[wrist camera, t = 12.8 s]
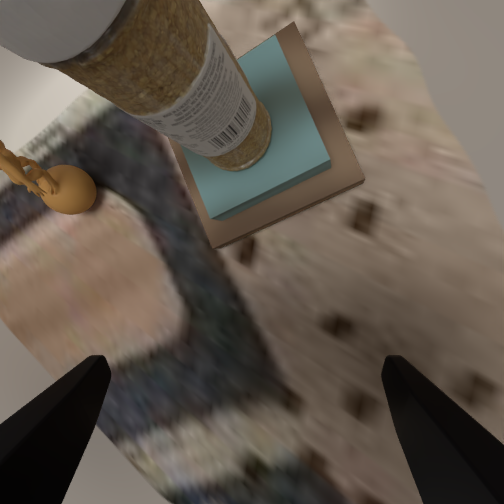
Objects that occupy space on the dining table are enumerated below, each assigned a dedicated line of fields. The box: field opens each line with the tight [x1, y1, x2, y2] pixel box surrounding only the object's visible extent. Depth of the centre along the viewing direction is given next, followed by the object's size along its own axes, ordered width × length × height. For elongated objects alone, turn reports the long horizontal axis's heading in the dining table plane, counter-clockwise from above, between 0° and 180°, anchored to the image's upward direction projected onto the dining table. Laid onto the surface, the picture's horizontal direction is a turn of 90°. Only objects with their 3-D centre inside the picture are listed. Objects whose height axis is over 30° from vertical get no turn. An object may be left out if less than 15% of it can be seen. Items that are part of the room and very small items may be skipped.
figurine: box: [0, 140, 97, 215], centre depth 19 cm, size 8×6×12 cm
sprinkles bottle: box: [0, 0, 272, 171], centre depth 11 cm, size 5×4×14 cm
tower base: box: [168, 22, 365, 249], centre depth 19 cm, size 11×11×4 cm
